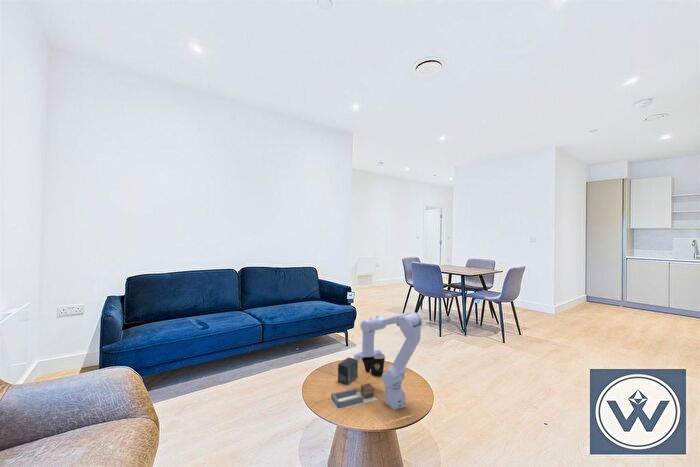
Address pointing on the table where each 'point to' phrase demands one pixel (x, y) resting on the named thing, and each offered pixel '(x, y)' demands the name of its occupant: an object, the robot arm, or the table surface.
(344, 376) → the small box
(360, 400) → the bay board
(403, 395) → the robot arm
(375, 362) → the coffee mug
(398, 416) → the table surface
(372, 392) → the walnut cube
